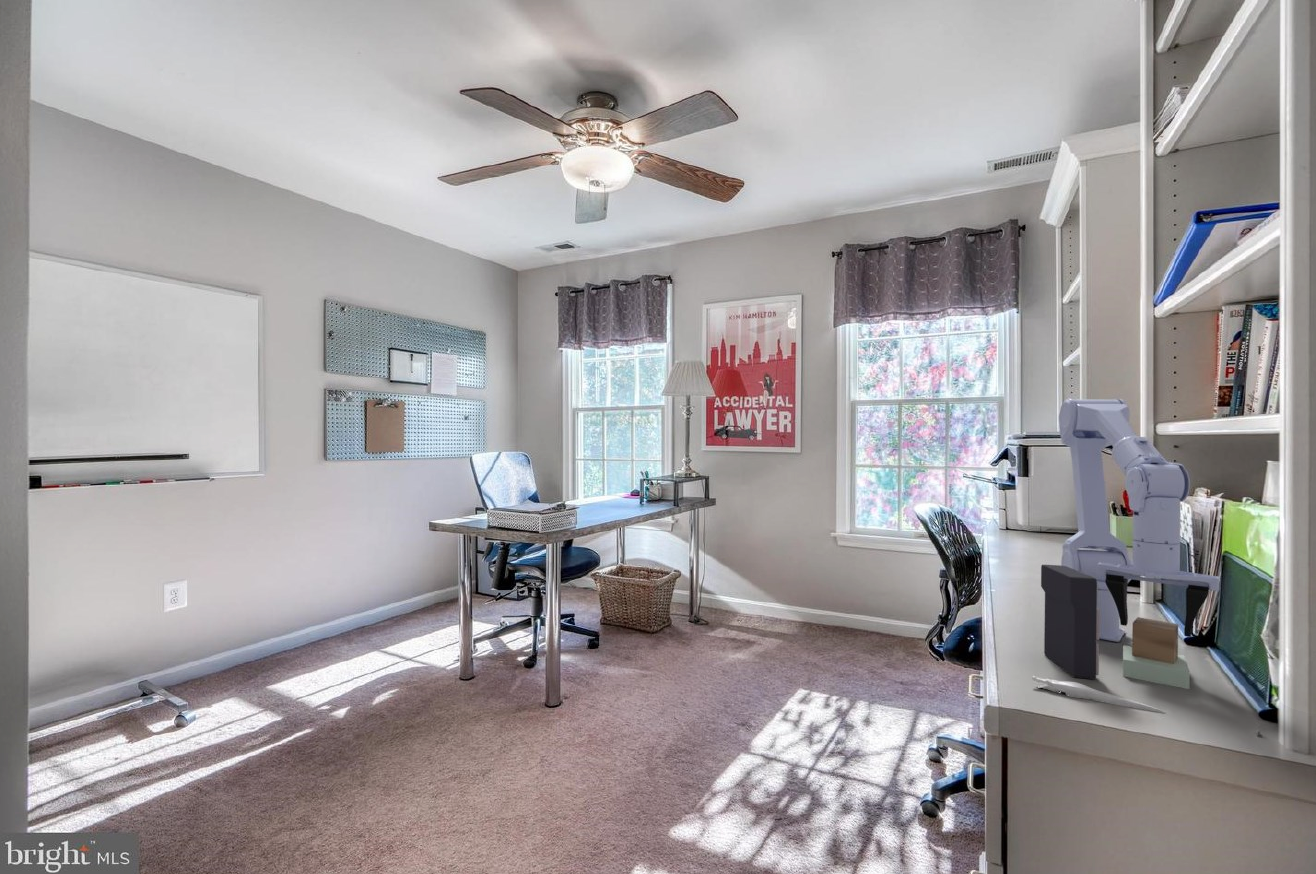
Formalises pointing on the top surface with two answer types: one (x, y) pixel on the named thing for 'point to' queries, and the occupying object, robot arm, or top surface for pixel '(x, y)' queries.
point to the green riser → (1156, 669)
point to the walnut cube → (1155, 640)
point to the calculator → (1071, 620)
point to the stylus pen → (1090, 693)
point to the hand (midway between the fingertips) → (1155, 629)
